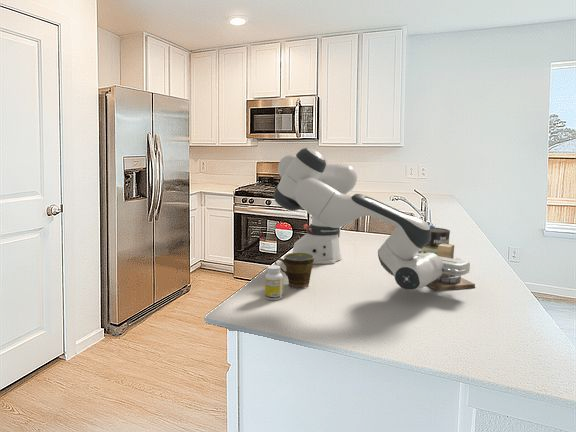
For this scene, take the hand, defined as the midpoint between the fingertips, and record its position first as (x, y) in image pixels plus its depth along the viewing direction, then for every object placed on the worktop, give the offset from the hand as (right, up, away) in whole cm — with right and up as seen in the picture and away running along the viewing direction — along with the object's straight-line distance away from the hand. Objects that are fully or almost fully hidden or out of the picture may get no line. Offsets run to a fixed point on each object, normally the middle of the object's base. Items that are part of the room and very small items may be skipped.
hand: (444, 258), depth 149 cm
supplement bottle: (-57, -11, -13) cm, 60 cm away
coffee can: (+5, -5, +25) cm, 25 cm away
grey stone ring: (+1, -7, +2) cm, 8 cm away
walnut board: (+1, -9, +2) cm, 9 cm away
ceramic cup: (-51, -9, -2) cm, 52 cm away
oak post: (+1, -7, +2) cm, 8 cm away
